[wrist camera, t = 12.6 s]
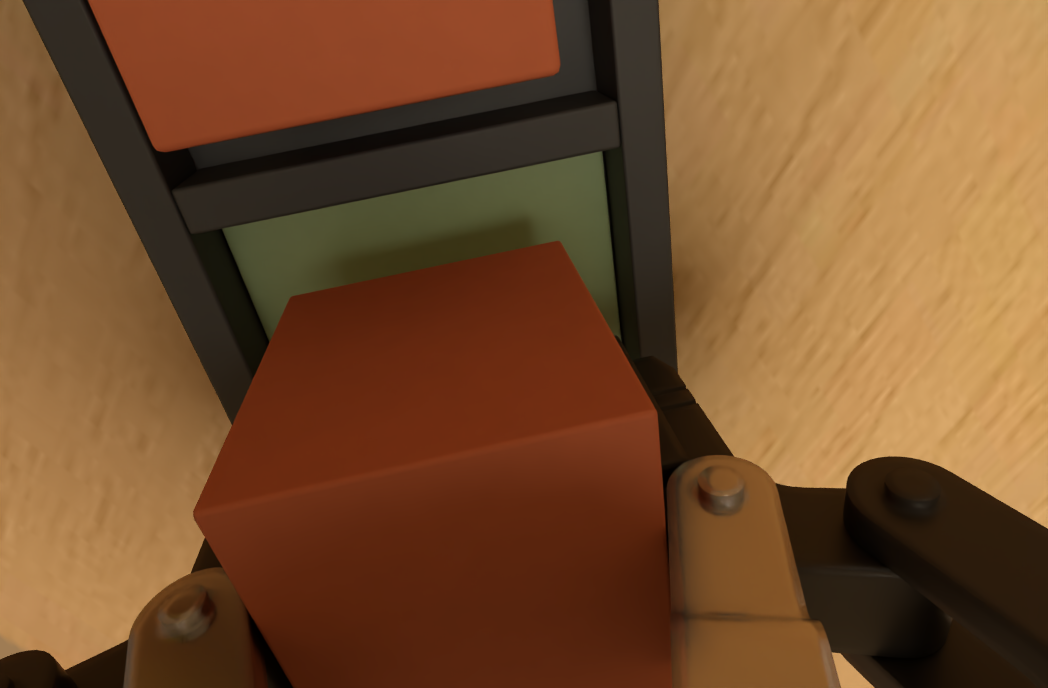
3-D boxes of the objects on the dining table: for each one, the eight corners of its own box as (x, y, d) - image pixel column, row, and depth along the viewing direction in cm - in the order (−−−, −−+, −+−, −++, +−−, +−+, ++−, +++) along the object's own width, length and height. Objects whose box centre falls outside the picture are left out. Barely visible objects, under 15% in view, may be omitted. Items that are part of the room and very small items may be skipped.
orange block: (382, 535, 13) (360, 808, 9) (289, 295, 10) (187, 515, 6) (596, 487, 13) (683, 730, 9) (560, 238, 10) (659, 411, 6)
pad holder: (319, 514, 16) (306, 578, 15) (-128, -486, 8) (-292, -630, 6) (656, 439, 17) (684, 492, 15) (577, -592, 8) (620, -761, 6)
